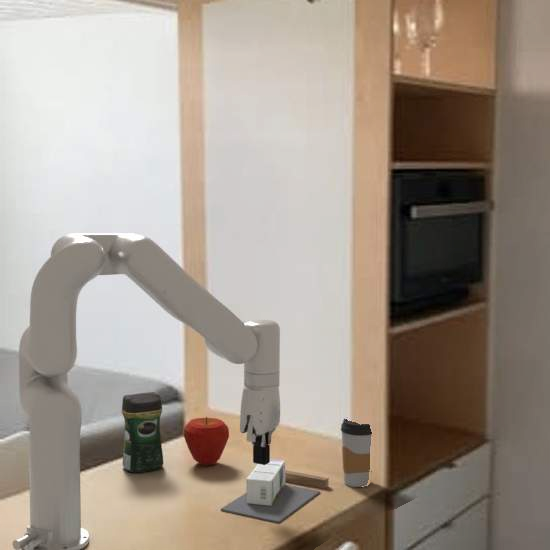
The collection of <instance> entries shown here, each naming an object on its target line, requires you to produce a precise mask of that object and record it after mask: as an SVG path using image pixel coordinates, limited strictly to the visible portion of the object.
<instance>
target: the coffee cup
mask: <svg viewBox="0 0 550 550" xmlns="http://www.w3.org/2000/svg"><path fill="white" fill-rule="evenodd" d="M340 425H341V428H340V432H341V442H342V443H341V445H342V447H341V453H342V470H343V482H344V484H345V485H346V486H347V487H349V488H350V487H351V488H355V487H362V486H365V485H367V483H368V480H369V472H370V471H369V470H370V446H371V436H372V435H371V434H372V432H371V429H370V425H369V424H361V425H360V424H358V423H356V422H352V421H348V420H347V419H345V418H343V421H342V423H341V424H340Z"/></svg>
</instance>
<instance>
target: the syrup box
mask: <svg viewBox="0 0 550 550" xmlns="http://www.w3.org/2000/svg"><path fill="white" fill-rule="evenodd" d="M285 470H286V460H282V459H280V460H279V459H270V462H269V463H268V464H266V465H262V464H256V466H255V468H254V469H253V470H252V471H251V473H250V474H249V475H248V476H247V478H246V493H247V503H249V504H259V505H269V506H272V504H273V503H274V501H275V499H276V498H277V496H278V495H279V493H280V492H281V490H282V488H283V487H284V485H285V484H286V481H285Z"/></svg>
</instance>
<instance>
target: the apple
mask: <svg viewBox="0 0 550 550" xmlns="http://www.w3.org/2000/svg"><path fill="white" fill-rule="evenodd" d="M183 438H184V440H185V444H186V445H187V448H188V450H189V452H190V454H191V457H192V458H193V460H194V461H195V462H197V463H198V464H199V465H201V466H213V465H215V464H216V463H218V461H219V460H220V459H221V457H222V454H223V452H224V450H225V448H226V445H227V442H228V440H229V438H230V431H229V426H228V425H227V424H226V423H225V422H224V421H223V419H222V420H221V419H219V418H214V417H208V416H205V417H197V418H196V417H195V418H193V419H191V420H189V421H188V422H187V423H186V424H185V425H184V426H183Z"/></svg>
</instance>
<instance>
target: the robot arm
mask: <svg viewBox="0 0 550 550" xmlns="http://www.w3.org/2000/svg"><path fill="white" fill-rule="evenodd" d="M112 275H125V276H126V277H128V278H129V279H130V280H131V281H132V282H133V283H134V284H135V285H136V286H137V287H139V288H140V289H141V290H142V291H143V292H144V293H145V294H146V295H148V296H149V297H150V299H152V300H153V301H154V302H155V303H156V304H157V305H158V306H159V307H161V308H162V309H163V310H164V311H165V312H166V313H167V314H169V315H170V316H171V317H173V318H174V319H175V320H177V321H179V322H181V323H183V324H184V325H186V326H188V327H190V328H191V329H193V331H195V332H196V333H198V334H199V336H202V337H203V338H204V343H205V346H206V347H207V349H208V350H209V351H210V352H211V353H213V355H216V356H217V357H220V358H222V359H223V360H226V361H228V362H230V363H232V364H235V365H243V389H242V395H241V401H240V412H239V413H240V415H239V431H240V433H241V434H246V438H245V439H246V442H249V443H251V445H252V453H253V454H252V462H253V463H254V464H256V465H258V464H262V465H266V464H268V463H269V462H270V460H271V457H270V456H271V455H270V453H271V442H272V434H273V433H274V432H275V431H276V429H277V427H278V426H279V425H280V422H281V395H280V369H281V368H280V361H281V359H280V356H281V354H280V353H281V350H280V348H281V344H280V343H281V342H280V341H281V340H280V339H281V338H280V337H281V332H280V331H281V330H280V329H281V328H280V326H279V324H278V323H277V322H276V321H274V320H269V319H267V320H266V319H255V320H250V321H242V320H241V319H240V318H239V317H238V316H237V315H236V314H235V313H234V312H232V311H231V310H230V309H229V308H228V307H227V306H225V305H224V304H223V303H222V302H221V301H220V300H218V299H217V298H216V297H215V296H214V295H213V294H211V293H210V292H209V291H208V290H207V289H206V288H205V287H204V286H203V285H201V284H200V283H199V282H197V281H196V280H195V279H194V278H193V277H192V276H191V275H190V274H189V273H188V272H187V271H186V270H184V269H183V267H181V266H180V264H178V262H176V261H175V260H174V259H173V258H172V257H171V256H170V255H169V254H168V253H167V252H166V251H165V250H164V249H163V248H162V247H161V246H159V245H158V243H156V242H155V241H154V240H152V239H151V238H149V237H147V236H145V235H141V234H136V233H129V232H128V233H69V234H64V235H63V236H60V237H59V238H58V239H57V240H56V241H55V242H54V243H53V246H52V247H51V251H50V257H48V259H47V260H46V261H45V262H44V263H43V264H42V266H41V268H39V270H38V272H37V273H36V276H35V277H34V280H33V282H32V287H31V293H30V300H29V301H30V304H29V326H27V328H26V329H25V330H24V332H23V333H22V335H21V337H20V342H19V346H18V377H19V378H18V379H19V380H18V381H19V382H18V383H19V386H18V387H19V391H18V392H19V400H20V405H21V407H22V408H21V409H22V410H23V412H24V413H25V415H26V416H27V418H28V424H29V434H28V435H29V436H28V470H29V471H28V473H29V474H28V477H29V478H28V479H29V519H30V520H29V521H30V522H29V523H30V524H29V525H27V526H26V532H25V533H24V535H22V536H21V537H19V538H16V539H14V540H13V541H12V548H13V549H14V550H21V549H23V550H81V549H83V548H85V547H86V546H87V545H88V544H89V543H90V542H89V541H90V533H89V532H88V530H86V529H84V528H83V527H82V513H81V512H82V510H81V502H82V501H81V499H82V498H81V459H80V458H81V455H80V454H81V453H80V452H81V448H80V446H81V443H80V442H81V440H80V439H81V429H82V419H83V418H82V417H83V414H82V413H83V411H82V406H81V402H80V400H79V398H78V395H77V394H76V393H75V391H73V389H72V388H71V387H70V386H69V384H68V383H69V382H68V373H69V372H70V371H71V370H72V369H73V367H74V366H75V363H76V361H77V357H78V356H77V355H78V347H77V345H78V343H77V308H78V307H77V305H78V299H79V295H80V293H81V292H82V289H83V288H84V287H85V286H86V285H87V283H89V282H91V281H92V280H94V279H95V278H97V277H98V276H112Z"/></svg>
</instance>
